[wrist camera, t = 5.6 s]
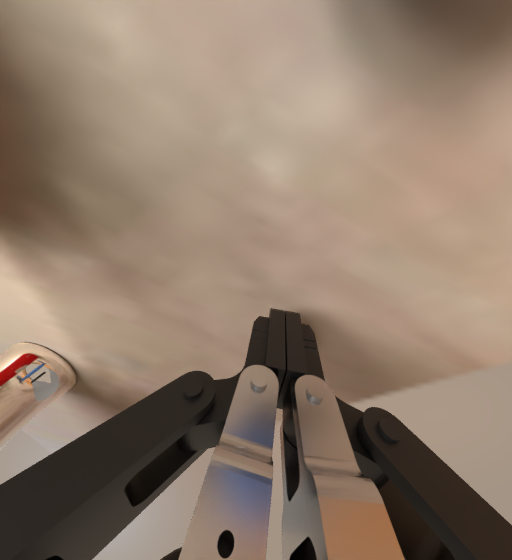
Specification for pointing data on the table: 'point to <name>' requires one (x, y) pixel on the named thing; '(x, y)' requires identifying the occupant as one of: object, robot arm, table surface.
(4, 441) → the beer glass
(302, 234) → the table surface
